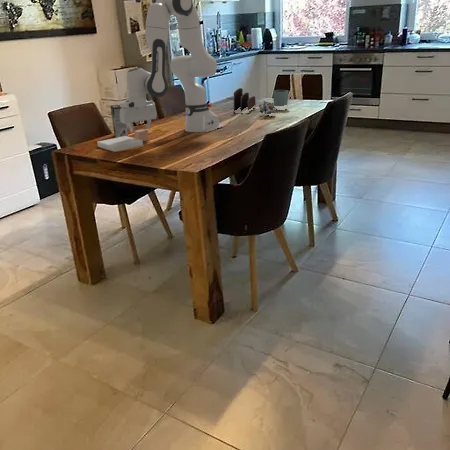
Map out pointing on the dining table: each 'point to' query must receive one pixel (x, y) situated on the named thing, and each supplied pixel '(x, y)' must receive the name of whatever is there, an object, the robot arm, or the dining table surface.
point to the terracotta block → (141, 135)
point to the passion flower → (267, 107)
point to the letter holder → (243, 100)
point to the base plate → (120, 143)
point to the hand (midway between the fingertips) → (140, 130)
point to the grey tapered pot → (280, 97)
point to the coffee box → (118, 122)
